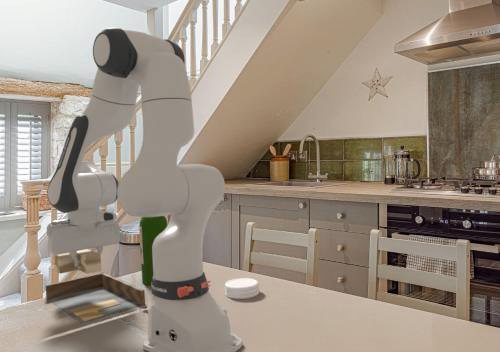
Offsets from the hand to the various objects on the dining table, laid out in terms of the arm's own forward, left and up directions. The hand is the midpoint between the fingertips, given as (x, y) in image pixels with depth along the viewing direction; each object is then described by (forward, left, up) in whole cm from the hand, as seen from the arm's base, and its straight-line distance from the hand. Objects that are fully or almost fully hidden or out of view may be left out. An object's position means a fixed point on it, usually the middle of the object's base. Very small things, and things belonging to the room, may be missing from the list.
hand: (87, 264), depth 124 cm
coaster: (-30, -33, -11) cm, 46 cm away
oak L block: (+1, +3, -1) cm, 3 cm away
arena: (-4, 0, -11) cm, 11 cm away
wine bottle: (0, -22, -11) cm, 24 cm away
